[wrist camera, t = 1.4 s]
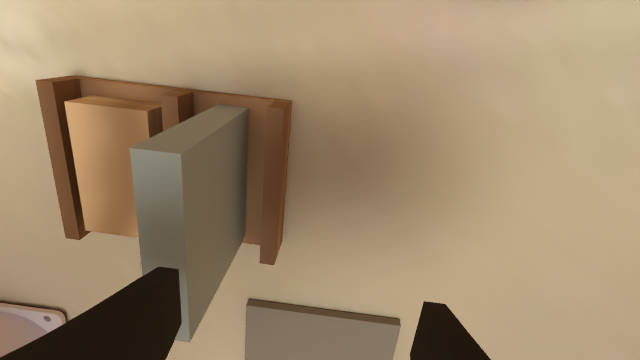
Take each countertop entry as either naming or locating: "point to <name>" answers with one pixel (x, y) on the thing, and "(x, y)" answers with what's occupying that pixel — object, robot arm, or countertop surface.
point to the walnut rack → (177, 106)
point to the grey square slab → (193, 203)
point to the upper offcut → (108, 160)
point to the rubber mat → (316, 334)
